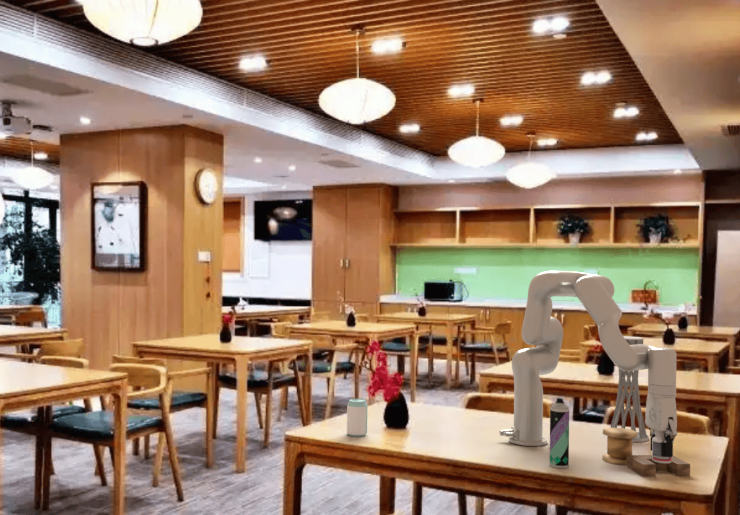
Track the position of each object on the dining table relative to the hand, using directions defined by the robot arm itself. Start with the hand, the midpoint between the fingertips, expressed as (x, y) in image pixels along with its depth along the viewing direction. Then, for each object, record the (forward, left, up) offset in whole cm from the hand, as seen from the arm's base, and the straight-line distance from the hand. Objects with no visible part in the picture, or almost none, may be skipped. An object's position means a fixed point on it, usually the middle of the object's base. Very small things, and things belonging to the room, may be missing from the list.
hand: (661, 453), depth 204 cm
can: (-84, +50, -6) cm, 98 cm away
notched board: (0, +2, -6) cm, 6 cm away
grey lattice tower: (+11, +44, -6) cm, 46 cm away
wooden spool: (-6, +14, -6) cm, 16 cm away
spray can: (-27, +9, -6) cm, 29 cm away
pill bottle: (0, 0, -3) cm, 3 cm away
